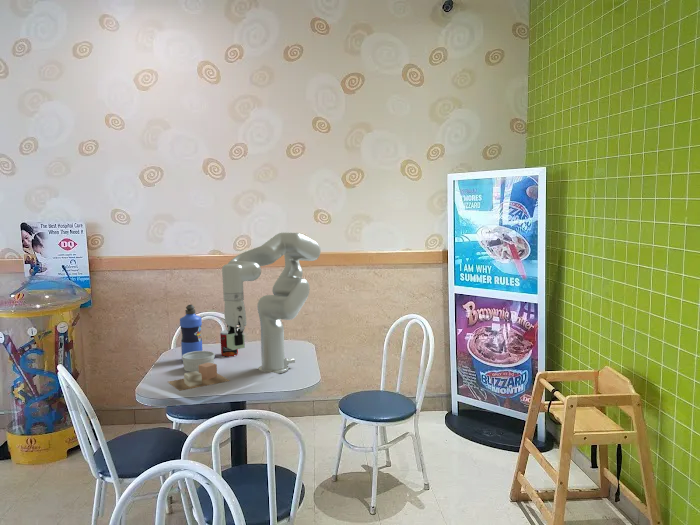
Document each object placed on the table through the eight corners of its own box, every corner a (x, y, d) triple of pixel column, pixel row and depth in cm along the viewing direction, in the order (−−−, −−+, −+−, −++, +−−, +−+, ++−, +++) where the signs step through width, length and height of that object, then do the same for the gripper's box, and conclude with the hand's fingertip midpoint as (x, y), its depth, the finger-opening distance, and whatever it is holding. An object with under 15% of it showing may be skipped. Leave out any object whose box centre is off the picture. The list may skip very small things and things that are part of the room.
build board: (216, 375, 244) (215, 362, 243) (230, 383, 232) (229, 370, 232) (167, 384, 232) (166, 371, 232) (179, 393, 221) (179, 380, 220)
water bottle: (206, 357, 272) (203, 303, 270) (198, 363, 263) (196, 306, 260) (186, 357, 273) (183, 303, 270) (178, 362, 264) (175, 306, 261)
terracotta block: (209, 374, 241) (208, 362, 241) (217, 376, 238) (216, 364, 237) (198, 377, 237) (198, 365, 237) (206, 379, 234) (206, 367, 234)
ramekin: (197, 377, 242) (196, 360, 241) (175, 372, 249) (175, 356, 249) (221, 369, 253) (221, 353, 252) (200, 364, 260) (199, 349, 260)
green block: (239, 345, 232) (238, 332, 232) (244, 347, 228) (244, 334, 228) (227, 347, 230) (226, 334, 229) (232, 350, 226) (231, 337, 225)
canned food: (221, 357, 271) (220, 333, 270) (220, 353, 279) (220, 330, 278) (238, 356, 273) (237, 332, 272) (237, 352, 281) (236, 329, 280)
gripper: (252, 298, 222) (254, 346, 224) (233, 292, 236) (235, 337, 238) (233, 300, 218) (236, 349, 220) (215, 294, 231) (217, 340, 234)
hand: (235, 343), depth 229 cm, fingers closed on green block, 5 cm apart
